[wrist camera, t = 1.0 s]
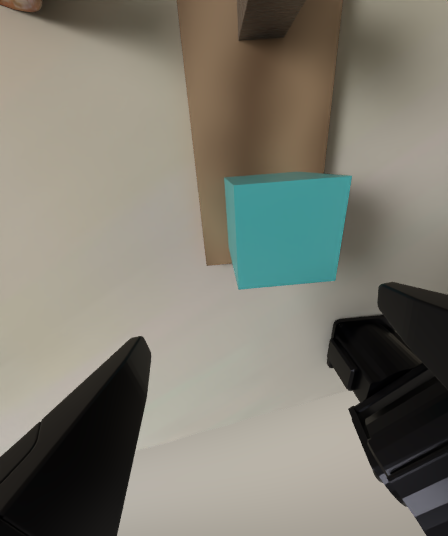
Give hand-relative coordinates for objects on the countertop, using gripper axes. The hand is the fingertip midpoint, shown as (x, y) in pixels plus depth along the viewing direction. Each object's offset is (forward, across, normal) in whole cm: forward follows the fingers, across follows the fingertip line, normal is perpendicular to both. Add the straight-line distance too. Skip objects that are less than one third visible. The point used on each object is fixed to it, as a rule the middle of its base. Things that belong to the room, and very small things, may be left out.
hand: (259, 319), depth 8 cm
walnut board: (+11, -3, -8) cm, 14 cm away
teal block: (+10, -2, -2) cm, 11 cm away
